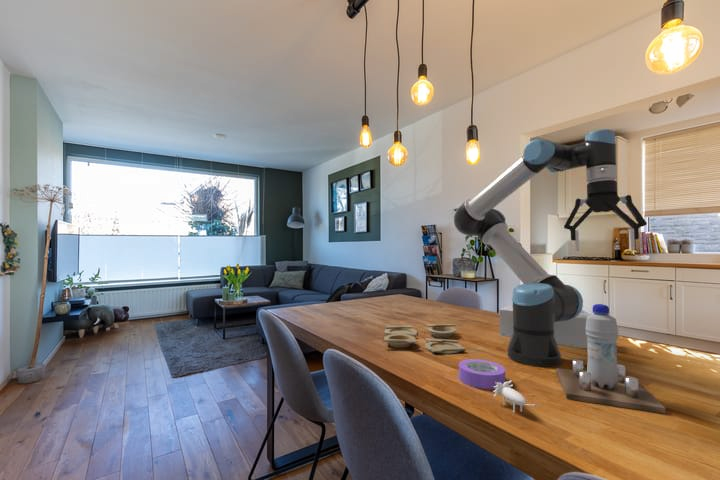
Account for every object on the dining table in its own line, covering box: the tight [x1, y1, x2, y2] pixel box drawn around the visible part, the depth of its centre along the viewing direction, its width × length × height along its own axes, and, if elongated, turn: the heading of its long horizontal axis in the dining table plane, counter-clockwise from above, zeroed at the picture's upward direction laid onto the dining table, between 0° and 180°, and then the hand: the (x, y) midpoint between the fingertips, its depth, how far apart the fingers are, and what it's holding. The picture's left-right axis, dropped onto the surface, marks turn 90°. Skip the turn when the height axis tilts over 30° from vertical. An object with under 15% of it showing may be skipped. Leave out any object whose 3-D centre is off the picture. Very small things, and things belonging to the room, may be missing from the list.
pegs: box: [571, 358, 639, 398], centre depth 83 cm, size 11×11×4 cm
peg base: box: [555, 367, 666, 415], centre depth 83 cm, size 18×18×1 cm
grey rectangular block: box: [498, 305, 592, 350], centre depth 130 cm, size 32×11×11 cm, turn 53°
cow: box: [492, 379, 537, 414], centre depth 73 cm, size 12×5×5 cm, turn 13°
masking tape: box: [458, 358, 506, 390], centre depth 90 cm, size 12×12×4 cm
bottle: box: [585, 303, 619, 389], centre depth 83 cm, size 7×7×20 cm
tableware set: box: [382, 323, 466, 355], centre depth 128 cm, size 35×29×4 cm
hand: (603, 251), depth 102 cm, fingers open, 13 cm apart
